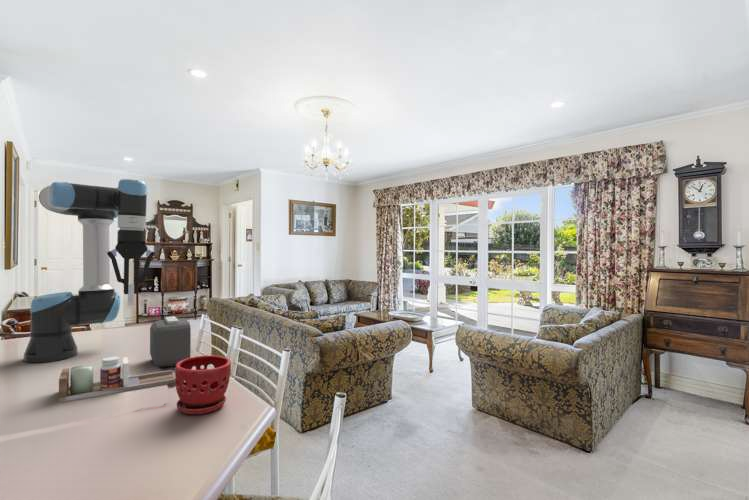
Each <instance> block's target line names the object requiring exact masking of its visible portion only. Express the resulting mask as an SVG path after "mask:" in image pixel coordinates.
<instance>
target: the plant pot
mask: <svg viewBox="0 0 749 500" xmlns="http://www.w3.org/2000/svg"><path fill="white" fill-rule="evenodd" d="M209 365H212V366H213V367H214V368H208V367H209ZM202 366H203V368H201V367H202ZM231 366H232V361H231V359H229V358H228V357H225V356H220V355H199V356H197V355H196V356H190V358H187V359H184V360H181V361H180V362H178V363H177V364H176V365H175V373H174V374H175V375H174V376H175V377H174V378H175V383H176V386H175V389H176V393H177V397H178V398H179V399H178V400H177V402H176V408H177V409H178V410H179V411H180V412H181V413H183V414H186V415H203V414H208V413H212V412H214V411H216V410H218V409H220V408H222V407H223V406H224V404H225V403H226V401H227V398H226V396H225V394H226V392H227V390H228V387H229V383H230V379H231V372H232V371H231V370H232V369H231ZM193 367H195V369H192V368H193Z"/></svg>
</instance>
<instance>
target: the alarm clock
mask: <svg viewBox="0 0 749 500" xmlns="http://www.w3.org/2000/svg"><path fill="white" fill-rule="evenodd" d="M191 330H192V329H191V324H190V322H189V321H188V319H186V318H185V317H181V318H177V317H176V316H174V315H172V316H165V317H164V319H158V320H156V321H154V322H153V323H151V325H150V329H149V331H150V332H149V356H151V357H150V358H151V360H152V364H153V365H154V366H155V367H159V368H166V367H167V368H168V367H173V366H174V367H176V364H177V363H178V362H180V361H181V360H184V359H187V358H191V345H192V344H191V337H192V335H191V334H192V333H191Z"/></svg>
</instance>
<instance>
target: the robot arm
mask: <svg viewBox="0 0 749 500" xmlns="http://www.w3.org/2000/svg"><path fill="white" fill-rule="evenodd" d="M147 190H148V189H147V183H146V182H145V181H143V180H138V179H132V178H131V179H130V178H128V179H127V178H122V179H120V180H119V181H118V185H117V187H109V186H100V185H88V184H81V183H80V184H79V183H69V182H67V181H62V182H60V181H57V182H56V181H54V182H52V183H51V184H50V185H47V186H46V187H44V188H42V189H41V190H40V191H39V195H38V201H39V203H40V205H41V206H42V207H43V208H44V209H46V210H48V211H50V212H52V213H56V214H60V215H64V216H76V217H77V221H78V223H80V224H81V225H82V265H83V266H82V267H83V268H82V270H83V271H82V279H83V280H82V281H83V282H82V284H83V285H82V286H81V288H79V289H78V294H77V295H76V294H75V295H73V293H72V291H64V292H54V293H49V294H43V295H38V296H37V297H34V298H33V299H32V300H31V301H30V309H29V313H30V338H29V341H28V343H27V346H26V348H25V351H24V353H23V362H25V363H31V364H32V363H34V364H37V363H48V362H55V361H61V360H66V359H69V358H72V357H75V356H77V355H78V345H77V343H76V341H75V339H74V336H73V334H72V333H73V331H72V329H73V328H72V327H77V326H86V325H93V324H94V325H95V324H103V323H110V322H113V321H114V320H115V319H116V318H117V317H118V314H119V312H120V308H121V295H120V293H118V292H117V291H116V292H115V287H114V286H112V285H111V275H110V274H111V269H110V267H111V264H110V262H111V263H112V267H113V270H114V274H115V277H116V278H115V279H116V281H117V282H118V283H120V284H123V294H124V295H127V305H128V306H134V305H135V295H137V294H139V285H140V283H142V282H145V281H146V279H147V275H148V273H149V272H148V271H149V268H150V265H151V261H152V259H153V258H154V257H155V255H156V253H155V251H153V250H150V249H149V248H148V245H147V242H146V241H147V240H146V239H147V231H146V230H145V229H147V195H148V191H147ZM116 218H117V228H119V229H118V230H117V243H116V245H115V248H113V249H112V250H110V249H111V248H110V226H111V225H112V224H113V223H114V222H115V221H114V220H115V219H116ZM117 253H118V255H120V256H121V257H122V259H123V261H124V262H123V278H122V276H121V273H120V267H119V265H118V261H117V259H116V257H117ZM145 253H146V254H145ZM144 254H145V256H146V258H145V261H144V264H143V268H142V272H141V275H140V277H139V273H140V271H139V270H140V269H139V268H140V267H139V266H140V264H139V263H140V259H141V258H142V257H143V256H144ZM131 259H133V283H129V282H130V281H129V280H130V260H131ZM110 260H111V261H110Z"/></svg>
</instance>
